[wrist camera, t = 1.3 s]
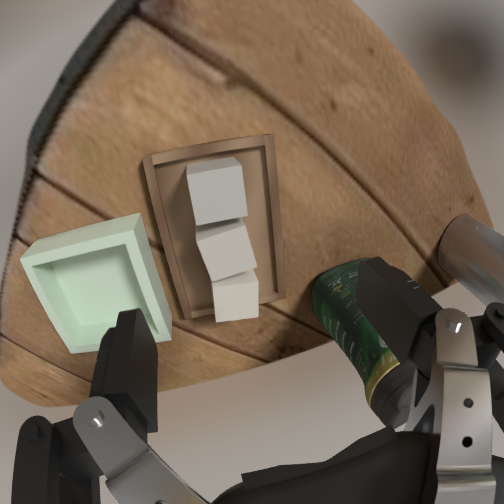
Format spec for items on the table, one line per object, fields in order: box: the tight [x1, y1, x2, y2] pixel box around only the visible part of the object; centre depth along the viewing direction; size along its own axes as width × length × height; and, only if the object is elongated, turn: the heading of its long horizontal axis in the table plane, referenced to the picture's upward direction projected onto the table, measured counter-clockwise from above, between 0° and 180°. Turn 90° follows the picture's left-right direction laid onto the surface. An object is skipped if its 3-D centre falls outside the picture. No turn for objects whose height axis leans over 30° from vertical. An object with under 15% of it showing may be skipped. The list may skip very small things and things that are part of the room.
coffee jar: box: [312, 258, 416, 429], centre depth 26 cm, size 10×8×19 cm
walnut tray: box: [142, 134, 286, 319], centre depth 27 cm, size 11×17×1 cm, turn 7°
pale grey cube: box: [195, 217, 257, 282], centre depth 25 cm, size 4×4×4 cm
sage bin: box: [20, 213, 172, 354], centre depth 26 cm, size 12×12×4 cm
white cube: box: [210, 269, 259, 322], centre depth 28 cm, size 4×4×4 cm
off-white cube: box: [187, 157, 248, 226], centre depth 23 cm, size 4×4×4 cm
